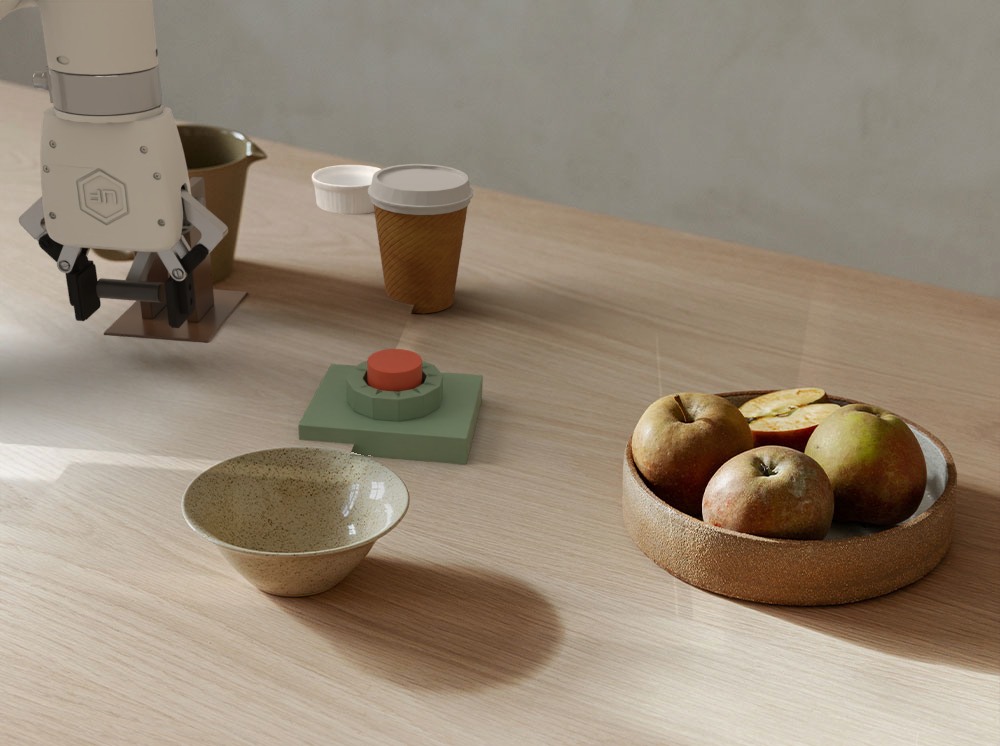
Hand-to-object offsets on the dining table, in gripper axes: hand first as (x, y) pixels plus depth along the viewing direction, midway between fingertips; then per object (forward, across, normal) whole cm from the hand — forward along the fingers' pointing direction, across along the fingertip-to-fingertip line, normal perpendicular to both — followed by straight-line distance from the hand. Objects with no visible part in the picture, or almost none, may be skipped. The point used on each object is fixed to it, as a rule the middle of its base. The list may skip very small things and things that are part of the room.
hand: (134, 316), depth 87 cm
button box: (+5, +22, -6) cm, 23 cm away
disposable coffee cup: (+5, +20, +18) cm, 27 cm away
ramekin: (+5, +8, +43) cm, 44 cm away
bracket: (+5, 0, +9) cm, 10 cm away
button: (+1, +22, -6) cm, 23 cm away
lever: (-3, 0, +5) cm, 6 cm away
